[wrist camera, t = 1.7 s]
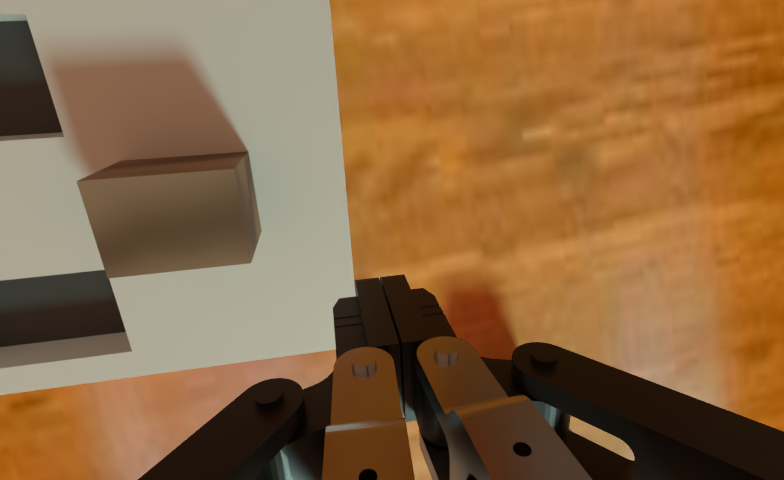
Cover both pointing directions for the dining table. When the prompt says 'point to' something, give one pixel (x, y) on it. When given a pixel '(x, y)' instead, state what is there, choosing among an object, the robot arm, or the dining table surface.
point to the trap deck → (159, 140)
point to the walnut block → (173, 213)
